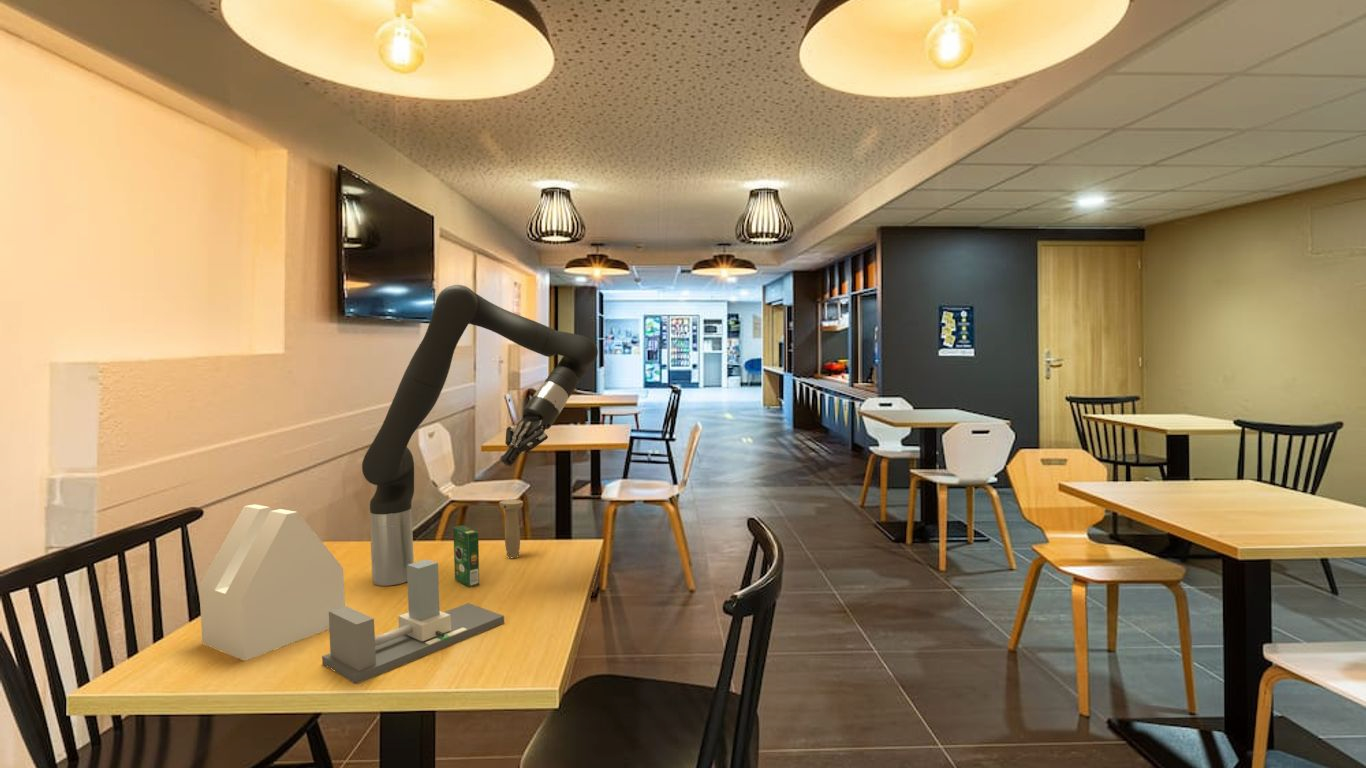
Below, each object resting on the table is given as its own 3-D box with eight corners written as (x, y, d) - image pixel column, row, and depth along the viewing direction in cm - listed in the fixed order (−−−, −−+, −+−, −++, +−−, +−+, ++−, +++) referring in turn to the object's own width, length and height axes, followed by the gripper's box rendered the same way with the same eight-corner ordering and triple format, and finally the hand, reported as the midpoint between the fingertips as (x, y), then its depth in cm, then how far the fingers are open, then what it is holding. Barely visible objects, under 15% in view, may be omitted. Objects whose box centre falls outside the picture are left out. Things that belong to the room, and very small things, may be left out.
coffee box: (481, 585, 156) (479, 530, 155) (469, 588, 154) (467, 533, 153) (465, 577, 162) (463, 524, 161) (454, 580, 160) (452, 526, 159)
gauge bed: (322, 664, 117) (320, 611, 116) (468, 609, 141) (467, 566, 140) (355, 683, 109) (353, 627, 109) (504, 622, 133) (502, 576, 133)
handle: (515, 561, 173) (513, 505, 173) (497, 558, 176) (495, 502, 176) (528, 556, 177) (526, 501, 177) (510, 553, 181) (508, 499, 180)
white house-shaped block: (245, 661, 119) (237, 524, 118) (202, 644, 126) (195, 515, 125) (345, 623, 135) (340, 502, 134) (302, 609, 143) (297, 495, 142)
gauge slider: (357, 646, 120) (354, 576, 119) (427, 620, 131) (425, 556, 130) (386, 661, 114) (382, 587, 113) (457, 632, 125) (454, 565, 124)
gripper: (518, 394, 159) (477, 451, 150) (556, 395, 151) (514, 455, 142) (536, 414, 163) (497, 470, 154) (573, 416, 155) (534, 476, 146)
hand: (505, 463), depth 148 cm, fingers closed
